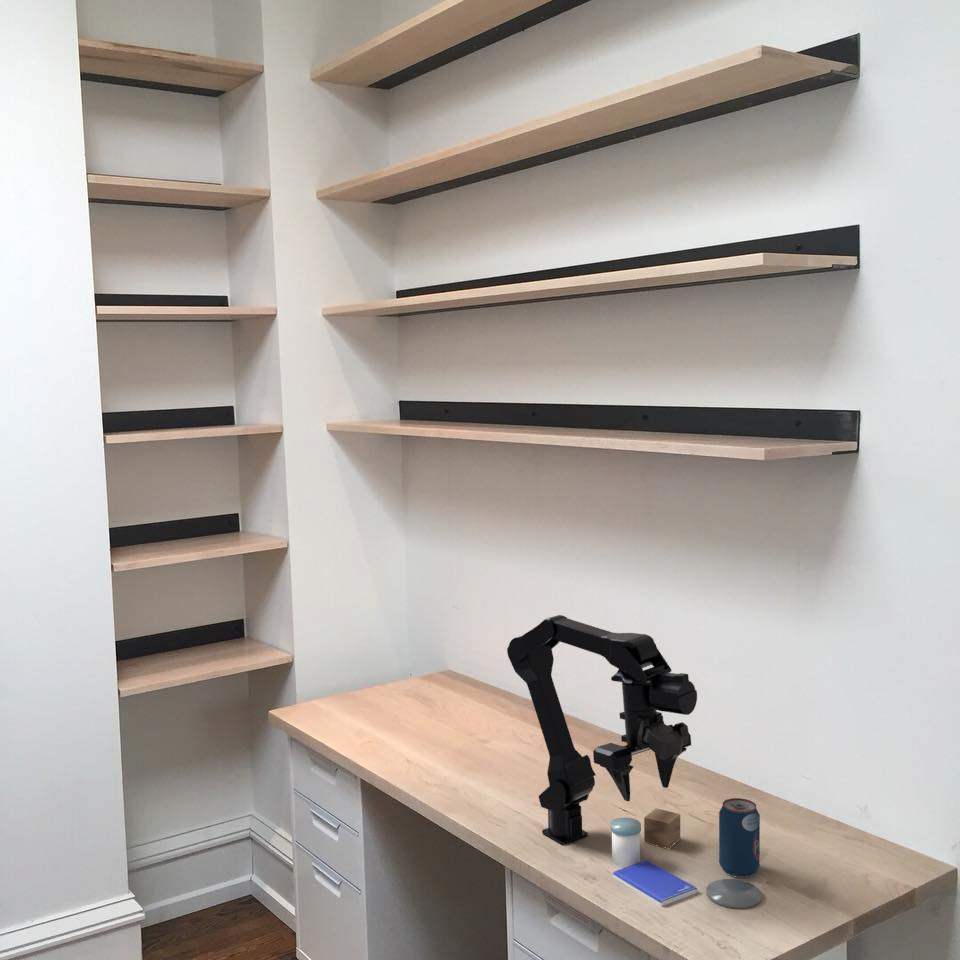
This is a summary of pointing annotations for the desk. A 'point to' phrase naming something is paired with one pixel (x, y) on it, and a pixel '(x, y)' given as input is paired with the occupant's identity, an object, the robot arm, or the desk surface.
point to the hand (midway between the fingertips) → (646, 794)
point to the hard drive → (654, 882)
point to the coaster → (734, 893)
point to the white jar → (625, 841)
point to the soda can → (739, 837)
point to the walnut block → (662, 828)
